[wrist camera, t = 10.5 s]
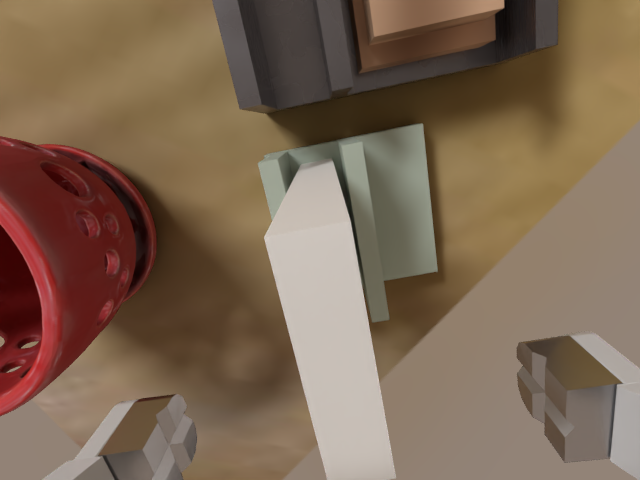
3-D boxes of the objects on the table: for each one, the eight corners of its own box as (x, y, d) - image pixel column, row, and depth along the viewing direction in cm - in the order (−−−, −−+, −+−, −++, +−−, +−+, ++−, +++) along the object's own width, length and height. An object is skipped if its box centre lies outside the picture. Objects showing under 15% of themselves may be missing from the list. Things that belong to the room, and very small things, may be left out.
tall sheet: (332, 158, 22) (350, 220, 8) (353, 272, 25) (396, 478, 10) (300, 164, 22) (263, 237, 8) (325, 277, 25) (329, 487, 10)
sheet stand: (416, 123, 23) (451, 123, 17) (431, 263, 26) (465, 306, 20) (267, 153, 24) (247, 164, 17) (299, 286, 27) (292, 336, 20)
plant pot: (208, 268, 26) (121, 379, 15) (60, 324, 28) (-121, 464, 16) (113, 92, 22) (-101, 61, 11) (-52, 169, 24) (-388, 211, 13)
